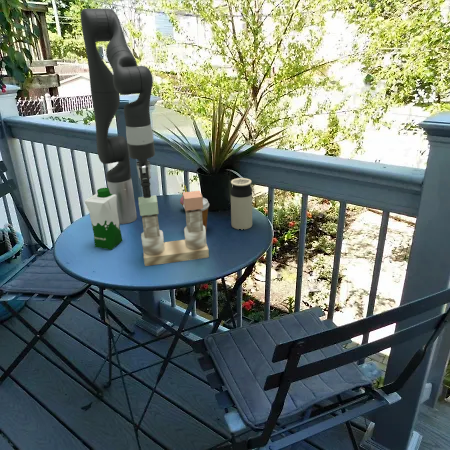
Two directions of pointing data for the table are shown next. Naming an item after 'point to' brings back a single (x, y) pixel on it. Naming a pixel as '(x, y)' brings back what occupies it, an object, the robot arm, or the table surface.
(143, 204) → the sage plunger
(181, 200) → the cupcake
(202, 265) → the table surface
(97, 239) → the milk carton
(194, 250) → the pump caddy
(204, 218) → the disposable coffee cup
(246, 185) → the travel mug
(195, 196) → the terracotta plunger
